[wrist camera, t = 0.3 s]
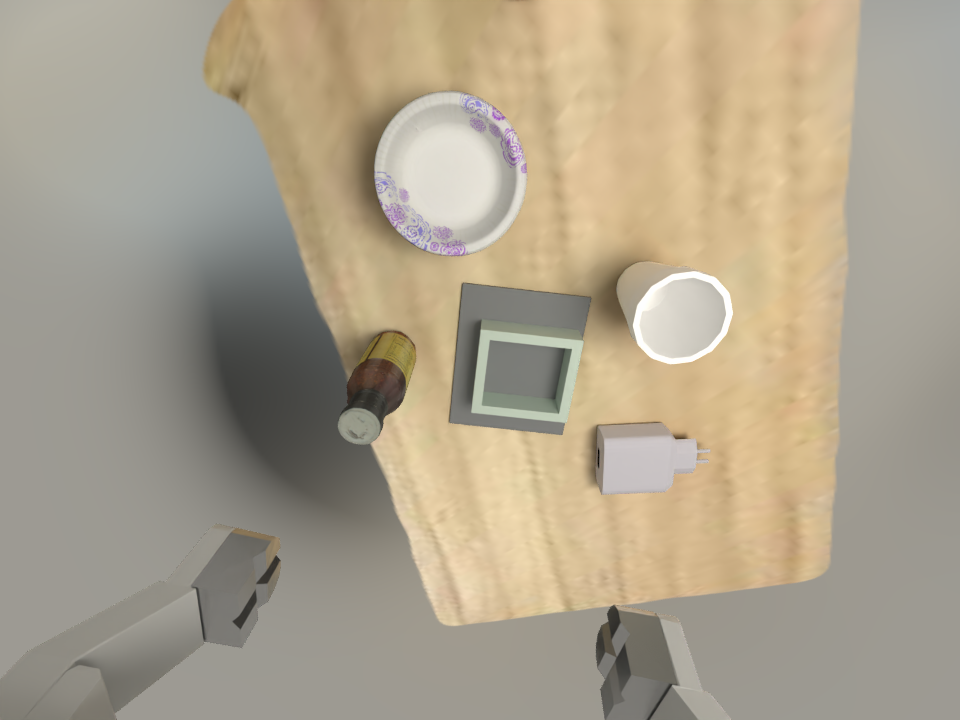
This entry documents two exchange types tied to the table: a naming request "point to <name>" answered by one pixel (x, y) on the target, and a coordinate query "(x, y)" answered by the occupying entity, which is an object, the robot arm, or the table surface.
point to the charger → (642, 458)
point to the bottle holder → (526, 404)
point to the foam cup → (674, 310)
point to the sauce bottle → (377, 386)
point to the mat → (512, 351)
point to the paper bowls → (450, 173)
